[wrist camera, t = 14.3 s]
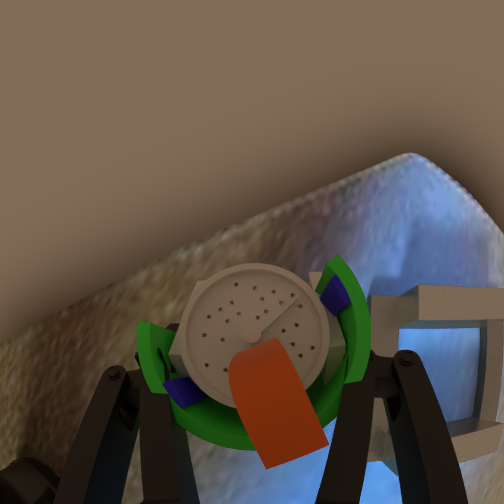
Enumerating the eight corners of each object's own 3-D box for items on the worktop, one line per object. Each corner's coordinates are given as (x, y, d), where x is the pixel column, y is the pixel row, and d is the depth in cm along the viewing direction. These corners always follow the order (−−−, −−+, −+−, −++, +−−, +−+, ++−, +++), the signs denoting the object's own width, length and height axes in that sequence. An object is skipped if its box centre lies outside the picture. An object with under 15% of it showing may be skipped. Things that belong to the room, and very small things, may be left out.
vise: (341, 489, 20) (353, 515, 14) (367, 297, 27) (386, 282, 21) (477, 464, 17) (504, 475, 12) (495, 302, 24) (525, 289, 19)
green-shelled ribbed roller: (287, 288, 25) (307, 143, 8) (339, 362, 22) (474, 356, 6) (199, 343, 24) (56, 298, 7) (249, 420, 21) (188, 538, 4)
